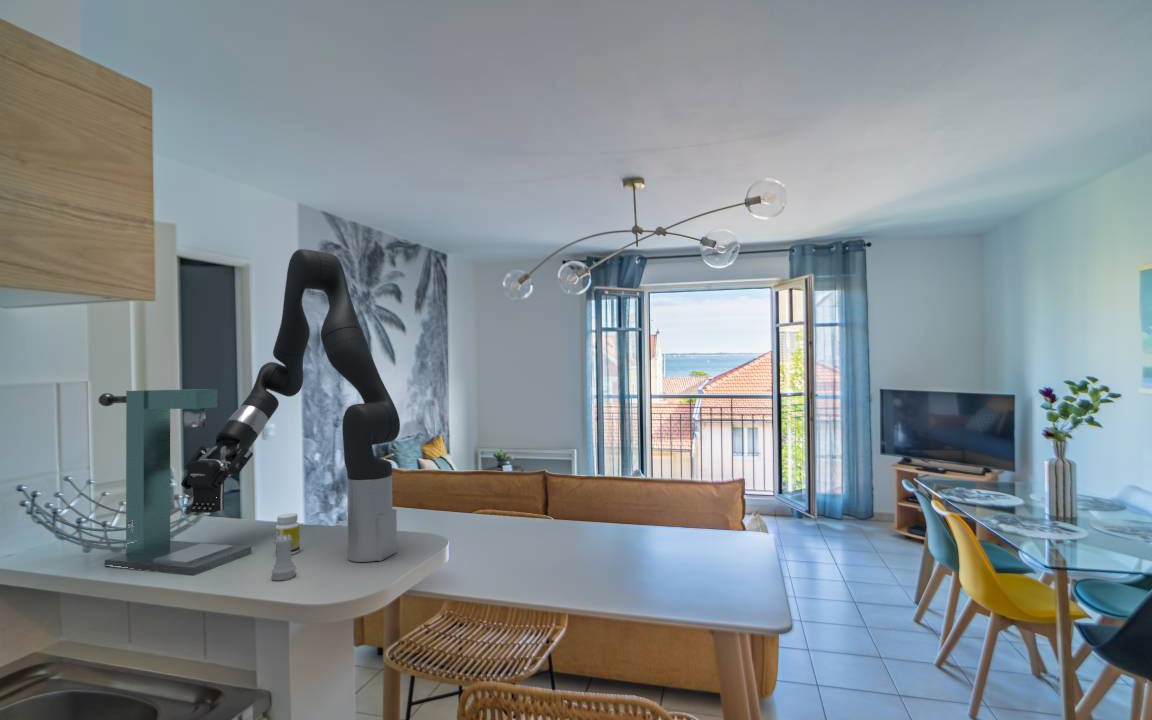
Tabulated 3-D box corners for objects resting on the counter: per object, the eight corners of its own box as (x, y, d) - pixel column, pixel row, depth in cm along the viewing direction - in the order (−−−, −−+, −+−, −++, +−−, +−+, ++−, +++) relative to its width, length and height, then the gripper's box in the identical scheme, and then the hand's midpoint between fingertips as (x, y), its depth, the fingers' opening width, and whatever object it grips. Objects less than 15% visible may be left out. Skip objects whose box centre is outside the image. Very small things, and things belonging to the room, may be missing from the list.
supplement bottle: (304, 549, 127) (303, 512, 127) (291, 556, 123) (291, 517, 123) (284, 549, 128) (283, 512, 128) (270, 556, 123) (270, 517, 123)
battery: (184, 513, 122) (183, 461, 122) (199, 509, 126) (198, 458, 126) (211, 514, 121) (210, 461, 121) (225, 510, 124) (225, 459, 125)
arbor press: (251, 553, 125) (250, 388, 126) (193, 575, 112) (193, 390, 113) (133, 543, 134) (133, 390, 135) (66, 563, 121) (67, 392, 122)
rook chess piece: (290, 571, 113) (290, 531, 113) (300, 576, 110) (300, 535, 110) (267, 578, 109) (266, 537, 110) (276, 583, 107) (276, 540, 107)
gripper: (209, 418, 133) (161, 476, 121) (257, 418, 129) (212, 478, 117) (228, 438, 138) (184, 496, 126) (276, 438, 134) (234, 498, 122)
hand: (198, 487), depth 122 cm, fingers closed on battery, 7 cm apart
